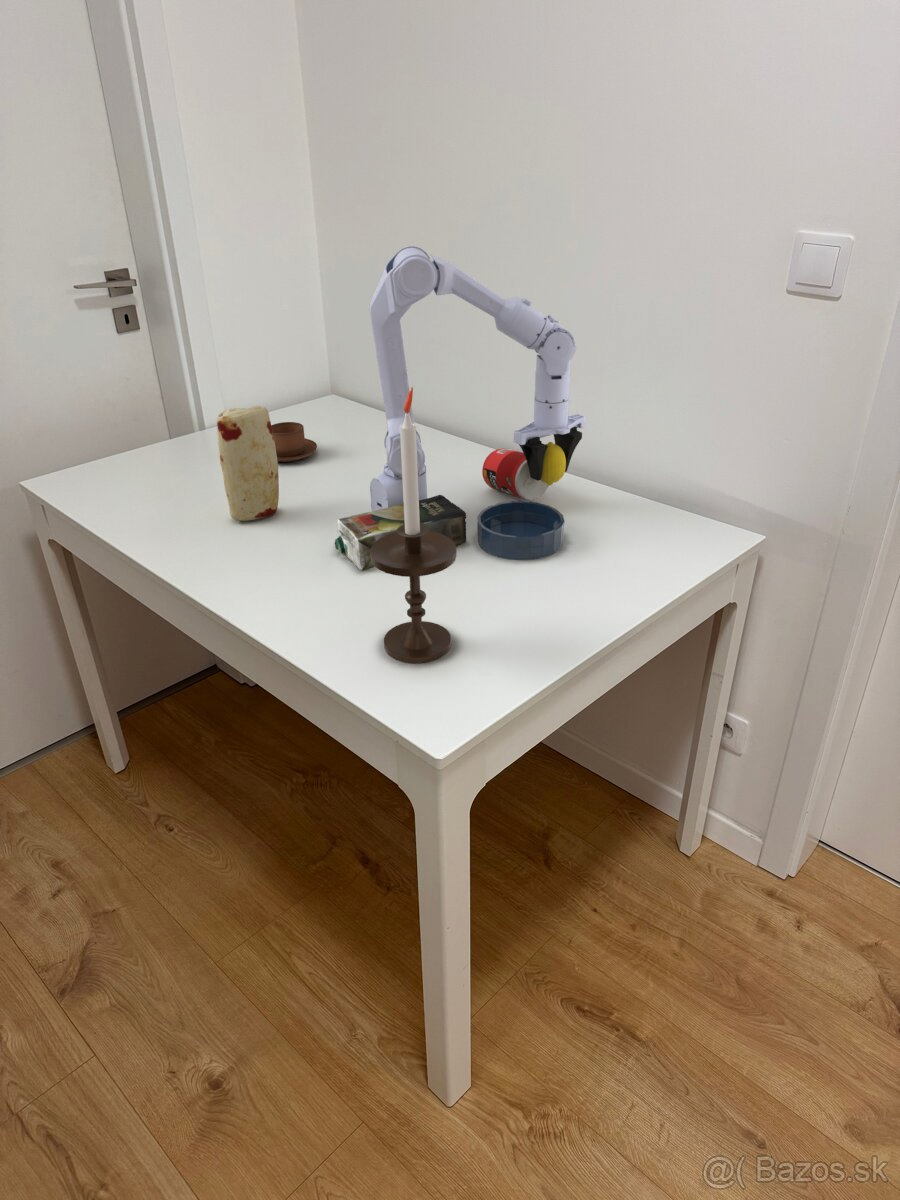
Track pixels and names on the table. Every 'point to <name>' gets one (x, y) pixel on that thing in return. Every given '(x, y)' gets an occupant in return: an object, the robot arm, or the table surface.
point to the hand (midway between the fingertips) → (548, 474)
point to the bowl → (520, 530)
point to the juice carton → (374, 525)
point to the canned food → (511, 474)
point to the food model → (248, 462)
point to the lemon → (553, 464)
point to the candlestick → (413, 563)
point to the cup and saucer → (291, 442)
